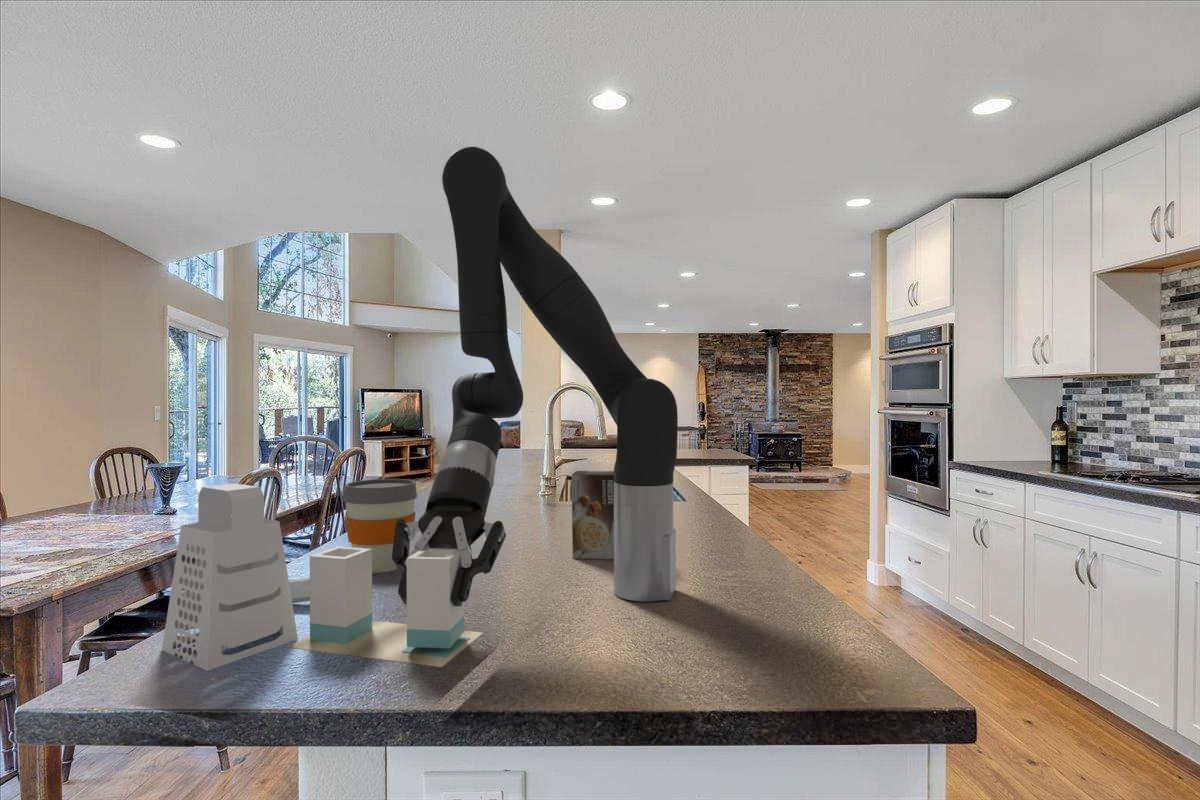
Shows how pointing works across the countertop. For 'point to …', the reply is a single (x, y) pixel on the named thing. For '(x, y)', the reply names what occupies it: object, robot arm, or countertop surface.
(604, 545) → the coffee box
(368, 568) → the seated sleeve
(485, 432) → the robot arm
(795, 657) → the countertop surface
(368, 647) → the pin board
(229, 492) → the grater
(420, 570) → the sleeve
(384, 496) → the reusable coffee cup
